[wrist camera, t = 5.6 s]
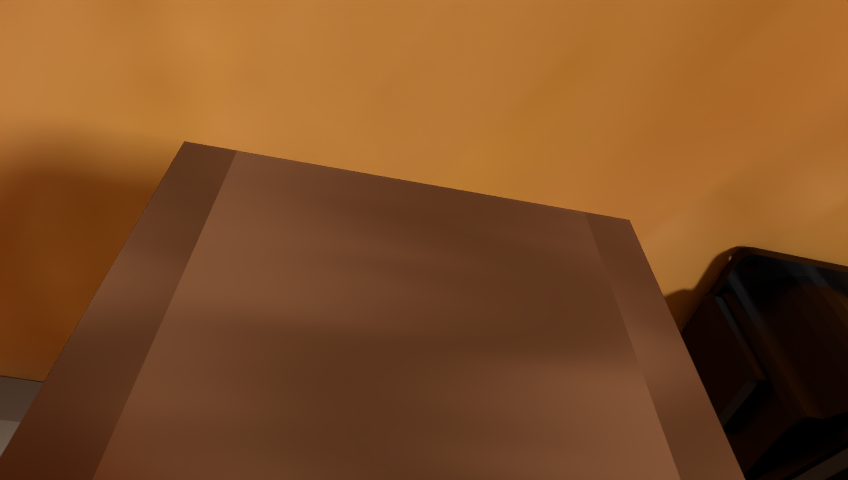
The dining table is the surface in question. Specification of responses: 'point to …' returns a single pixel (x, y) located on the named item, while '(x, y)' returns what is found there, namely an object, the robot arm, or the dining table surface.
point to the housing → (368, 341)
